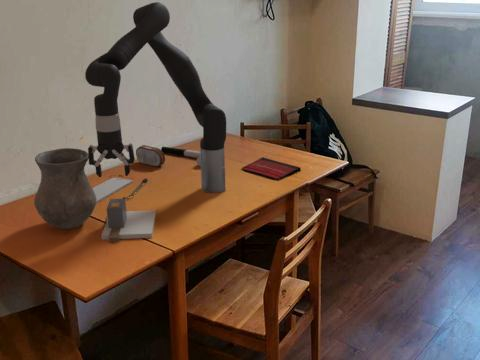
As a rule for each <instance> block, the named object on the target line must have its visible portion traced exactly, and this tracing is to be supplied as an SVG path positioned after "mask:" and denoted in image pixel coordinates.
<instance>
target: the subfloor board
mask: <svg viewBox="0 0 480 360" xmlns="http://www.w3.org/2000/svg"><path fill="white" fill-rule="evenodd" d="M126 213H127V219H126V222H125V226H124V227H123V228H109V227H108V218H107V219H106V222H105V225H104V227H103V230H102V232H101V240H103V241H104V240H108V243H118V242H120V241H119V240H121V239H122V240H126V239H150V238H151V239H152V238H153V234H154V228H155V223H156V222H155V221H156V216H157V210H136V211H135V210H134V211H133V210H131V211H130V210H129V211H127V210H126Z"/></svg>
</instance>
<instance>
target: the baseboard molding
mask: <svg viewBox="0 0 480 360" xmlns="http://www.w3.org/2000/svg"><path fill="white" fill-rule="evenodd" d="M112 176H114V177H112ZM124 176H125V175H120V174H119V175H118V177H116V176H115V175H113V174H112V175H110V176H109V179H108V180H105V181H104V182H102V183H100V184H98V185H96V186H94V187H92V189H93V191H94V193H95V195H96V199H97V200H96V204H98V203H100V202H101V201H103V200H105V199H107V198H109V197H111V195H113V193H114V194H115V193H117V192H119V191H121V190H122V189H124V188H126V187H127V186H129V185H131V184H133V183H132V182H133V181H134V180H133V178H132V177H131V178H130V179H128V178H127V176H125V177H124ZM119 177H120V178H119ZM121 177H122V178H121ZM126 178H127V179H126ZM130 183H131V184H130ZM125 186H126V187H125ZM118 190H119V191H118Z"/></svg>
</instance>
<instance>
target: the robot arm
mask: <svg viewBox="0 0 480 360" xmlns="http://www.w3.org/2000/svg"><path fill="white" fill-rule="evenodd" d="M132 15H133V17H132V18H133V23H134V25H135V27H134V28H133V29H131V30H129V31H128V32H127V33H126V34H124V35H123V36H121V37H120V38H119V39H118V40H117V41H116V42H115V43H114V44H113V45H112V46H111V47H110V49H108V51H107V52H105V53H104V54H102V55H100V56H98V57H97V58H95V59H94V60H92V61H91V62H90V63H89V64H88V66H87V68H86V69H85V75H84V77H85V81H86V83H87V84H89V85H90V86H93V87H99V88H103V92H102V93H100V94H97V95H95V96H94V98H93V102H94V103H93V105H94V113H95V118H94V119H95V120H94V121H95V130H96V137H97V138H96V140H97V145H92V144H90V145H89V146H88V148H87V153H88V157H89V159H88V164H89V166H94V167H95V173H96V176H97V177H98V178H102V176H103V174H102V173H103V172H102V165H101V163H102V162H103V160H104V159H105V160H115V159H118V160H120V161H121V162H122V163H123V164H124V166H123V167H124V174H125V175H124V176H125V177H128V176H129V175H130V174H131V168H130V165H132V164H134V163H135V160H136V159H135V153H134V152H135V151H134V146H133V143H129V144H124V143H123V137H122V127H121V125H122V124H121V119H120V114H119V104H118V97H119V91H120V86H121V81H122V80H121V79H122V77H121V76H122V75H121V72H120V71H122V70H124V69H125V68H126V67H127V66H128V65H129V64H130V63H131V62H132V60H133V59H134V58H135V56H136V55H137V54H138V53H139V52H140V51H141V50H142V49H143V48H144V47H145V46H146V45H147V44H148V46H149V47H150V48H151V49H152V51H153V52H154V53H155V55H156V56H157V58H158V60H159V61H160V62H161V64H162V65H163V67H164V68H165V70H166V72H167V74H168V75H169V77H170V78H171V80H172V82H173V84H174V85H175V86H176V87H177V89H178V90H179V92H180V94H182V96H183V97H184V98H185V100H186V101H187V103H188V105H189V106H190V109H191V111H192V113H193V114H194V116H195V119H196V121H197V123H198V124H199V126H201V127H202V132H203V133H202V135H203V136H202V138H201V139H200V141H199V147H200V148H199V149H200V151H199V152H201V167H200V177H201V180H200V181H201V190H202V191H203V192H205V193H210V194H215V193H216V194H217V193H221V192H226V166H225V164H226V163H225V162H226V161H225V142H226V139H227V116H226V113H225V112H224V110H223V109H221V108H219V107H218V106H216V105H214V103H213V102H212V101H211V100H210V98H209V96H208V95H207V93H206V92H205V90H204V89H203V85H202V82H201V78H200V76H199V73H198V70H197V68H196V67H195V66H194V64H193V62H192V60H191V58H190V57H189V56H188V55H187V54H186V53H185V52H184V51H182V50H181V49H179V47H177V46H175V45H174V44H173V43H171V42H170V41H169V40H168V39H167V38H166V37H165V36H164V34H163V33H162V31H163V30H164V29H166V28H167V27H168V25H169V24H170V21H171V20H170V19H171V15H170V12H169V9H168V8H167V6H166V5H165V4H164V3H161V2H160V1H159V2H158V1H157V2H156V1H155V2H152V3H148V4H146V5H143V6H140V7H138V8H136V9H135V10H134V12H133V14H132ZM124 150H126V152H128V156H129V157H128V158H127V156H126V155H125V154H124V152H123V151H124ZM96 151H97V152H98V153H99V154H100V155H99V156H98V158H97V160H95V155H94V154H95V153H96Z"/></svg>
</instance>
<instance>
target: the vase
mask: <svg viewBox="0 0 480 360" xmlns="http://www.w3.org/2000/svg"><path fill="white" fill-rule="evenodd" d="M34 161H35V164H36V165H37V167H38V168H39V170H40V175H41V176H40V177H41V178H40V182H39V185H38V189H37V192H36V193H35V195H34V199H33V200H34V202H33V203H34V207H35V209H36V211H37V214H38V215H39V216H40V217H41V219H42V220H43V221H44V222H46V223H47V224H48V225H50V226H51V227H55V228H57V229H59V230H64V231H65V230H66V231H67V230H73V229H75V228H78V227H80V226H82V225H83V224H84V223H85V222H86V221H87V220H89V218H90V217H91V215H92V214H93V212H94V210H95V208H96V205H97V203H96V200H97V199H96V195H95V193H94V191H93V189H92V188H93V187H92V185H91V184H90V181H89V179H88V177H87V174H86V171H85V167H86V165H87V162H89V157H88V151H86V150H83V149H81V148H80V149H79V148H71V147H66V148H65V147H64V148H63V147H62V148H57V149H51V150H46V151H43V152H40V153H38V154H37V155H36V156H35V157H34Z"/></svg>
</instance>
